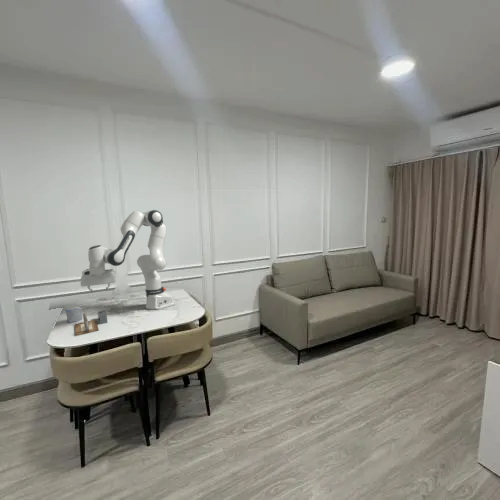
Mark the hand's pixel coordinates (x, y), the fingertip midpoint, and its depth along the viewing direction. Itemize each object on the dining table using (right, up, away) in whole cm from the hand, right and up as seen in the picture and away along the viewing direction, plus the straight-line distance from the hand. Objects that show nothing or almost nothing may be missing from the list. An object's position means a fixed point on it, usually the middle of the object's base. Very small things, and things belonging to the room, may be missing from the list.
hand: (99, 291), depth 185 cm
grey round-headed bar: (+1, -20, +3) cm, 21 cm away
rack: (-4, -22, -7) cm, 24 cm away
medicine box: (-19, -21, +5) cm, 29 cm away
